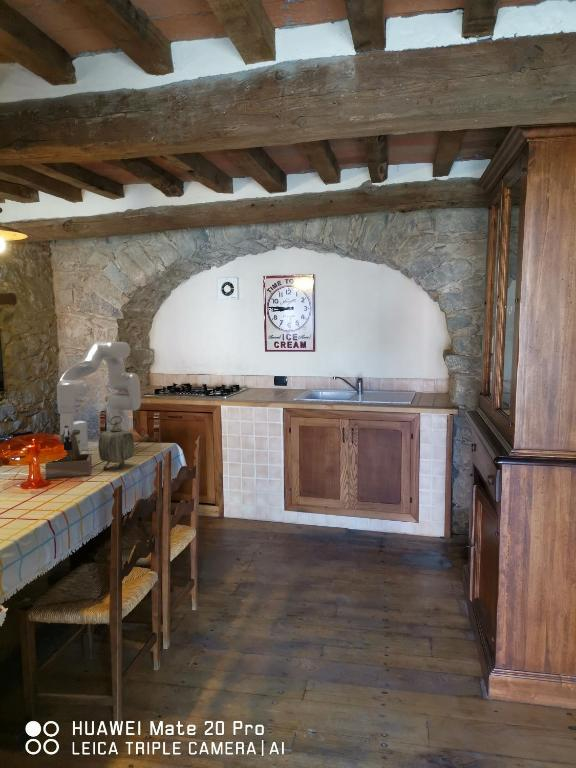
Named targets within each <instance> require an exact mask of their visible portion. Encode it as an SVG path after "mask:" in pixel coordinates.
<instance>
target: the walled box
mask: <svg viewBox="0 0 576 768" xmlns="http://www.w3.org/2000/svg"><path fill="white" fill-rule="evenodd" d="M92 460H93V458H92V453H81V454H80V461H71V462H59V460H58V461H52V462H47V461H46V462H45V465H44V466H45V479H46V480H53V479H67V478H68V479H69V478H81V477H90V476H91V473H92V469H93V463H92Z"/></svg>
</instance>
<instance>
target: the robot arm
mask: <svg viewBox="0 0 576 768" xmlns="http://www.w3.org/2000/svg"><path fill="white" fill-rule="evenodd" d="M130 354H131V347H130V344H129V343H128V342H126V341H103V340H102V341H94V342H92V343H90V344H89V346H88V348H87V350H86V351H85V353H84V355H83V356H82V358H81V360H80V362H78V363H76V364H74V365H72V366H70V368H68V369H66V370H65V371H64V372H63V374H62V375H61V377H60V378H59V380H58V382H57V384H56V399H57V413H58V414H60V417H59V418H60V419H59V424H60V425H59V427H60V428H59V430H60V431H59V432H60V435H61V436H62V435H63V434H64V450H72V441H71V435H72V433H73V430H74V422H75V419H74V414H76V413H77V404H76V397H84V396H86V395H88V393H90V384H89V382H87V381H85V380H84V379H80V378H83V377H86V376H89V375H92V374H94V373H96V372H97V371H98V369H99V367H100V365H101V363H102V361H103V360H104V361H105V363H106V364H107V365H106V366H107V373H108V374H107V375H108V384H109V388H110V389H112V391H113V390H114V391H117V392H111V393H110V394H109V395H108V397H107V406H108V411H109V421H110V420H111V418H112V417H114V416H120V417H121V418H122V421H121V419H120V418H119V417H116V418H113V419H112V420H111V423H112V424H115V422H117V423H119V422H120V421H121V423H120V424H118V426H120V427H121V429H122V430H125V431H130V425H129V415H128V414H127V412H126V411H137V410H139V409H140V407H141V404H142V398H141V383H140V379H139V378H140V377H139V376H138V375H137V374H136V373H134V372H126V370H125V361H124V360H123V359H126V358H128V357H129V356H130ZM118 391H128V392H118ZM109 424H110V423H109ZM113 426H115V425H111V424H110V428H109V429H111V428H112V427H113ZM69 432H70V434H68V433H69Z"/></svg>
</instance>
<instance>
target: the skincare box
mask: <svg viewBox="0 0 576 768" xmlns="http://www.w3.org/2000/svg"><path fill="white" fill-rule="evenodd" d="M74 430H80V443H81V452H83V451H86V450H87V451H88V449H89V444H88V442H89V441H88V423H87V421H85V420H84V421H83V420H77V421H74Z"/></svg>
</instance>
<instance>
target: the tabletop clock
mask: <svg viewBox="0 0 576 768" xmlns="http://www.w3.org/2000/svg"><path fill="white" fill-rule="evenodd" d="M116 417H119V418H120V419H121V421H122V418H121V417H120V416H114V417H112V418H111V420H112V419H113V418H116ZM111 420H110V419H109V424H111V425H115V426H113V427H112V428H110V429H109V430H105V431H103V432H101V433H100V434H99V436H98V447H97V448H98V455H99V458H100V461H103V462H106V465H104V466H103V467H102V468H103V470H107V469H108V465H110V463H112V464H113V463H114V464H117V463H118V464H119V469H123V467H124V464H125V463H126V461H127V460H129V459H131V458H133V457H134V455H135V442H134V441H135V440H134V438H135V437H134V435H133V433H132V431H130V430H129V431H125V430H122V429H121V427H120V426H118V424H120V423H121V421H120V422H119V423H117V422H115V424H112V423H111Z"/></svg>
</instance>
